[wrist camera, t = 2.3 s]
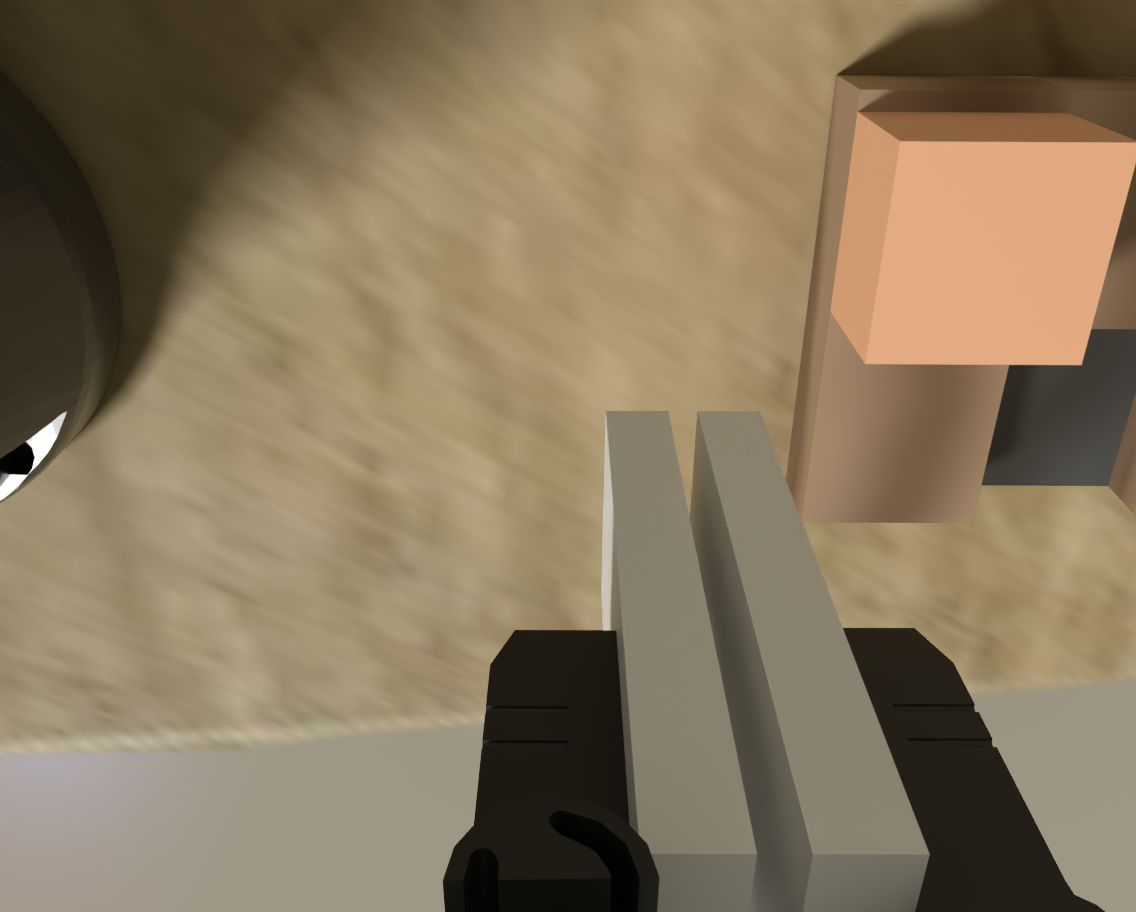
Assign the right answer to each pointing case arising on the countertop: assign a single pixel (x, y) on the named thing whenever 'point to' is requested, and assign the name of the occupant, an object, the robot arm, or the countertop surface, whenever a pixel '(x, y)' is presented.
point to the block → (978, 236)
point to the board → (961, 392)
